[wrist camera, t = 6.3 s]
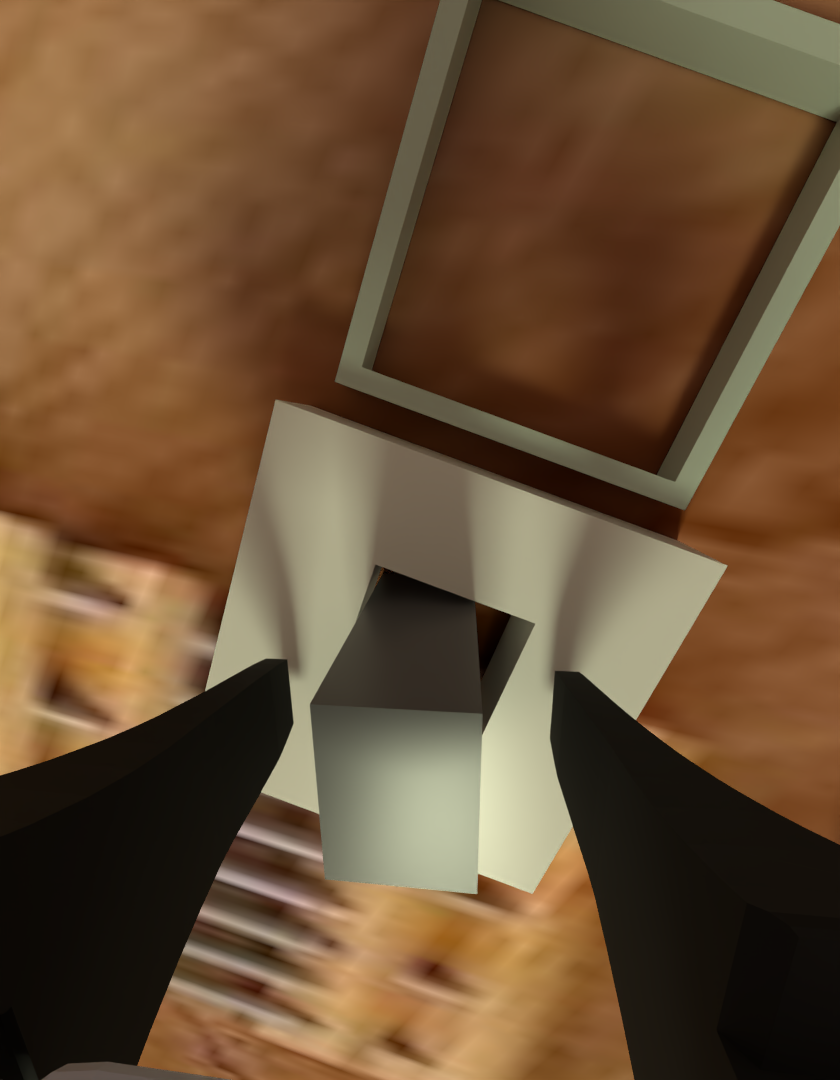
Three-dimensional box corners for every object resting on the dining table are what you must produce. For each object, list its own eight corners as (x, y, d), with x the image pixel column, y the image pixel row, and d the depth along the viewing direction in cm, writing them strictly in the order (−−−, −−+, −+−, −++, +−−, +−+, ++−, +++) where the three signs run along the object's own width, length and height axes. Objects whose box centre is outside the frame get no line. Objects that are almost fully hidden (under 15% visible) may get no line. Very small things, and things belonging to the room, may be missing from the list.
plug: (472, 575, 14) (482, 713, 7) (470, 683, 15) (476, 893, 8) (383, 573, 14) (309, 704, 7) (386, 678, 15) (325, 879, 8)
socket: (677, 540, 13) (727, 565, 10) (521, 824, 16) (532, 893, 14) (310, 405, 13) (275, 399, 10) (228, 714, 16) (187, 764, 14)
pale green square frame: (876, 100, 10) (930, 56, 9) (664, 503, 13) (684, 510, 11) (469, -46, 10) (470, -109, 9) (346, 386, 13) (334, 381, 11)
